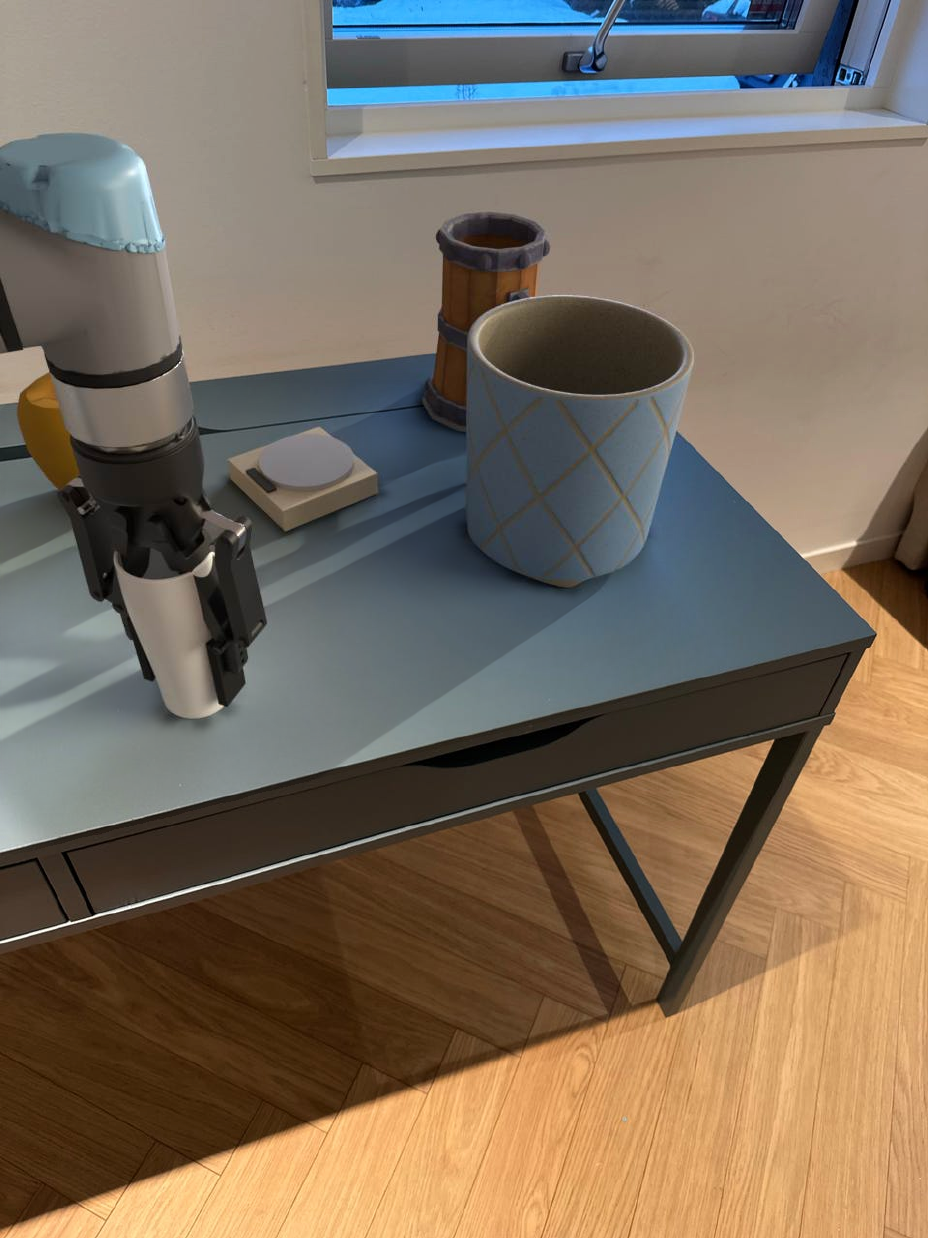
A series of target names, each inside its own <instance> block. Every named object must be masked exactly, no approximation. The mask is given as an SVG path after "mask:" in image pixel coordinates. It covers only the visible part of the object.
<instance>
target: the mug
mask: <svg viewBox="0 0 928 1238" xmlns="http://www.w3.org/2000/svg"><path fill="white" fill-rule="evenodd" d="M547 235H548V232H547V231H546V230H545V229H544V228H543V227H542V226H541V225H540V224H539V223H538V222H537V221H535V220H532V219H529V218H527V217H523V216H521V215H518V214H514V213H505V212H495V211H481V212H470V213H469V212H468V213H462V214H459V215H456V216H454V217H452V218H449V219H446V220H445V221H444V222H443V224H442V226H441V228H439V229H438V230H437V232H436V234H435V241H436V243H437V244H438V251H440V252H441V254H442V273H441V274H442V277H441V307H440V309H439V311H438V313H437V332H438V335H437V336H438V337H437V344H436V352H435V361H434V369H433V372H432V374H431V376H430V377H429V378H427V379H426V380H425V382H424V384H423V387H424V391H425V392H424V394H423V397H422V398H421V399H422V402H421V403H422V404H423V406H424V408H425V409H426V411H427V413H428V415H429V416H430V418H431V419H432V420H434V421H436V422H438V423H440V424H442V425H444V426H447V427H448V428H451V429H452V430H454V431H456V432H464V433H466V398H467V338H468V334H469V331H470V328H471V326H472V325H473V323H474V322H475V321H476V320H477V319H478V318H479V317H480V316H481V315H483V314H484V313H486V312H487V311H489V310H491V309H493V308H495V307H497V306H500V305H503V304H505V303H509V302H512V301H516V300H520V299H525V298H531V297H538V287H539V277H540V266H541V262H542V261H543V258H544V257H547V256H548V255H549V253H550V251H551V243H550V242H549V240H547Z"/></svg>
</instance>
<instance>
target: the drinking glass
mask: <svg viewBox="0 0 928 1238" xmlns="http://www.w3.org/2000/svg"><path fill="white" fill-rule="evenodd" d="M213 555H215V553H214V552H210V553H209V554H208V555H207V556H206V558H205V559H204V560H203V561H202V562H201V563H200V564H199V565H198V566H197V567H196V568H195V569H194V570H193V571H192V572H187V573H184V574H182V575H179V573H178V572H177V571H172V570H170V568H169V567H168V565H167V563H166V561H165V559H164V557H163V555H162V554H161V552H159V551H157V550H155V549H153V548H150V558H149V566H148V569H147V570H146V572H145V574H144V576H143V577H142V578H138V577H135V576H132V575H130V574H128V573H127V572H125V571H124V569H123V565H122V561H121V556H120V553H119V552H117V551H115V553H114V565H115V569H116V574H117V578H118V582H119V586H120V590H121V593H122V597H123V600H124V603H125V606H126V608H127V611H128V614H129V616H130V619H131V621H132V624H133V626H134V628H135V631H136V633H137V635H138V638H139V640H140V642H141V645H142V647H143V649H144V652H145V654H146V656H147V659H148V661H149V663H150V666H151V668H152V671H153V673H154V675H155V680H156V683H157V685H158V687H159V691H160V694H161V698H162V701H163V704H164V706H165V707H166V708H167V710H168V711H169V712H170V713H172V714H174V715H175V716H177V717H180V718H183V719H188V720H189V719H190V720H195V719H196V720H197V719H203V718H206V717H209V716H212V715H214V714H216V713H217V712H219V711H221V710H222V709H223V708H224V707H225V706H222V705H219V703H218V698H217V694H216V689H215V685H214V680H213V676H212V671H211V667H210V662H209V658H208V653H207V649H206V643H207V642H208V641H209V640H211V639H212V638H213V637H212V635H211V633H210V631H209V629H208V627H207V626H206V624H205V622H204V620H203V614H202V609H201V604H200V599H199V595H198V591H197V587H196V584H195V580H194V576H193V575H195V576H197V577H206V576H207V575H208V574H209V573H210V571H211V567H212V556H213Z"/></svg>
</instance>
